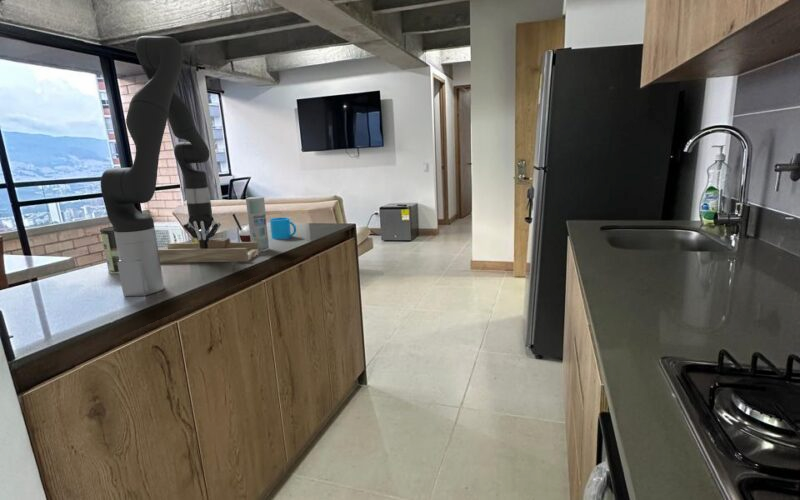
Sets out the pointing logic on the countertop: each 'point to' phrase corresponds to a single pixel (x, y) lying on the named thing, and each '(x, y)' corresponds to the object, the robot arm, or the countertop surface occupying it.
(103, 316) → the countertop surface
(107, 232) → the coffee can
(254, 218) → the spray can
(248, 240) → the cocoa
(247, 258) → the frame
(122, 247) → the robot arm
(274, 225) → the mug
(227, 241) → the walnut block
